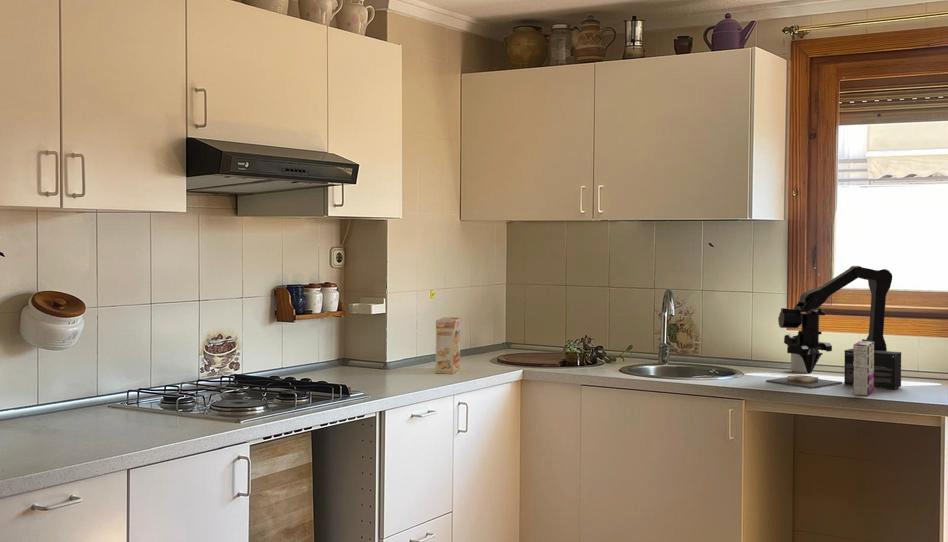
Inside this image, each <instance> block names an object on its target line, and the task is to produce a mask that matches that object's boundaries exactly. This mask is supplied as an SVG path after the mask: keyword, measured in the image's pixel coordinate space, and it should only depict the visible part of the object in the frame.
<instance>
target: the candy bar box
mask: <svg viewBox="0 0 948 542" xmlns="http://www.w3.org/2000/svg"><path fill="white" fill-rule="evenodd" d="M852 347H853V348H852V349H853V350H854V351H853V385H852V390H853V391H852V395H853V394H854V395H853V396H861V395H867V396H866V397H870V395H871V394H873V392H875V387H874V342H868V341H862V340H861V341H860V340H859V341H857V342H855V343H854V344H853V346H852Z"/></svg>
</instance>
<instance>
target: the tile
mask: <svg viewBox="0 0 948 542" xmlns="http://www.w3.org/2000/svg"><path fill="white" fill-rule="evenodd" d="M787 377H788V378H787V381H790V382H797V383H804V384H812V383H818V379H819V376H813V375H812V376H811V375H805V374H804V375H803V374H793V375H787Z"/></svg>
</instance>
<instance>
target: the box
mask: <svg viewBox="0 0 948 542" xmlns="http://www.w3.org/2000/svg"><path fill="white" fill-rule="evenodd" d="M853 351H854V350H853V348H848V349H846V350H844V381H843V382H844V383H843V384H844V385H848V386H853ZM901 386H902V352H900V351H890V350H889V351H888V350H887V351H877V350H874V388H878V389H879V388H880V389H888V390H889V389H891V390H897V389H898V388H901Z"/></svg>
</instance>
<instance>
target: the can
mask: <svg viewBox="0 0 948 542" xmlns="http://www.w3.org/2000/svg"><path fill="white" fill-rule="evenodd" d="M790 370H791V371H792V373H795V374H808V373H807V370H806V367H805V364H804V361H803V358H802V357H801V356H800V355H798V354H792V353H790Z"/></svg>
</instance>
